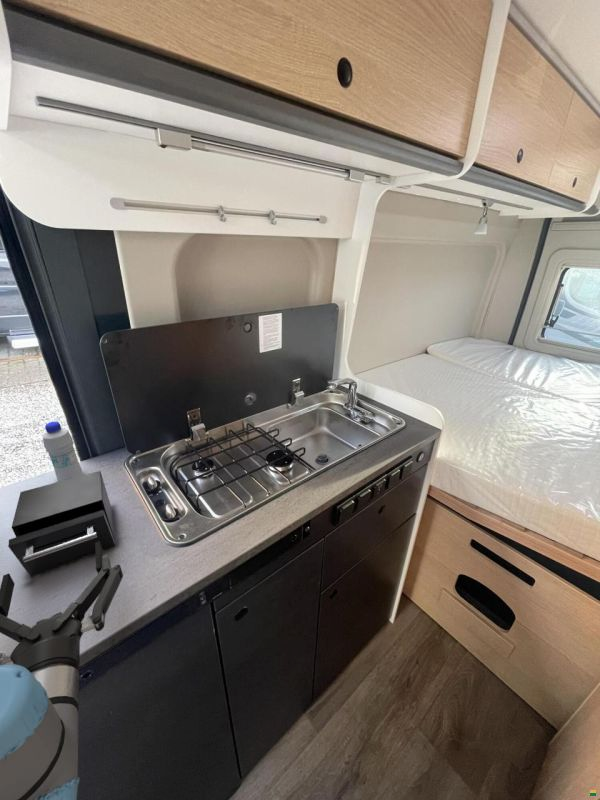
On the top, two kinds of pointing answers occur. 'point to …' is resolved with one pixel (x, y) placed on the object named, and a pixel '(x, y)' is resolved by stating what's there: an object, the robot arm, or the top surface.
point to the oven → (61, 503)
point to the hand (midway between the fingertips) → (56, 562)
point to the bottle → (61, 452)
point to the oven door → (62, 543)
